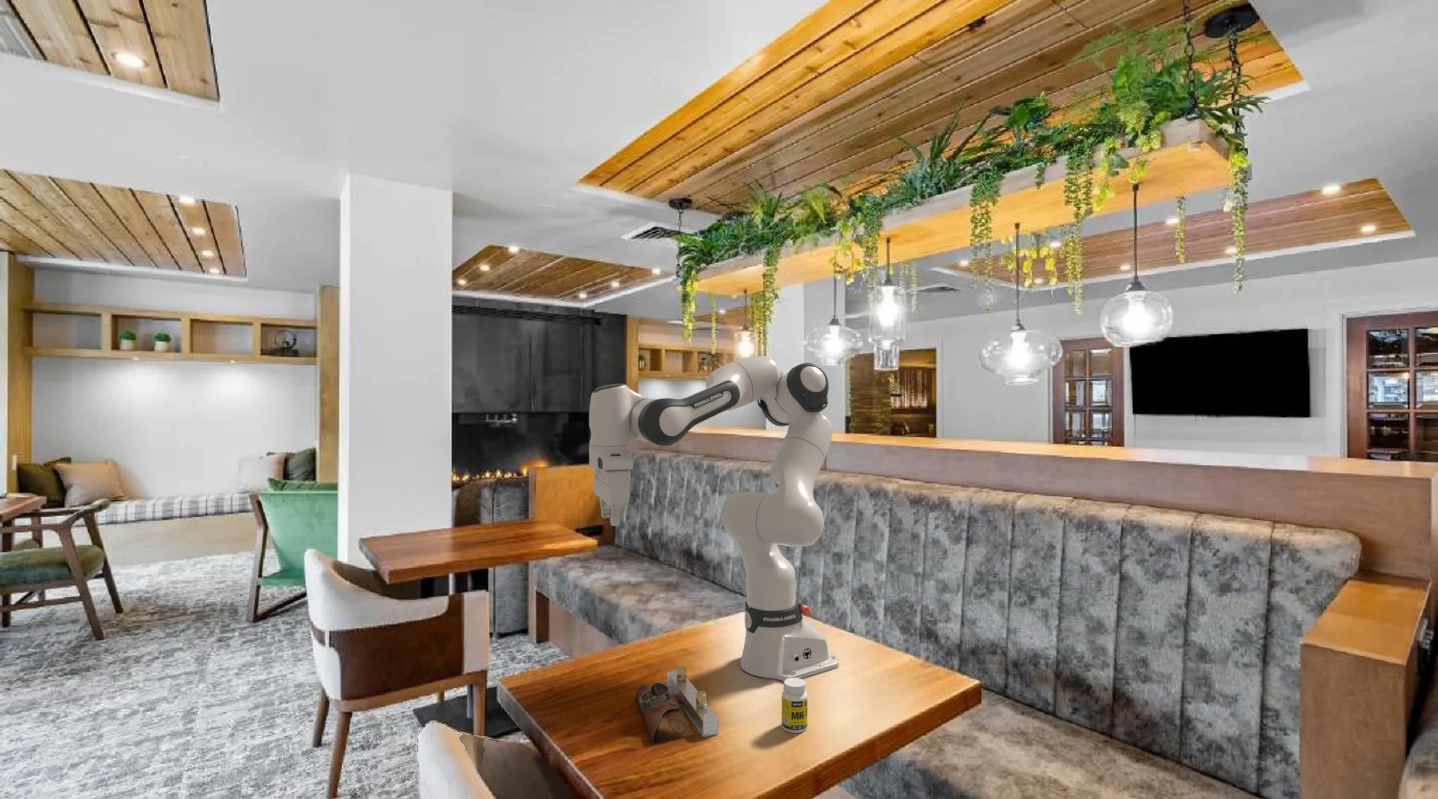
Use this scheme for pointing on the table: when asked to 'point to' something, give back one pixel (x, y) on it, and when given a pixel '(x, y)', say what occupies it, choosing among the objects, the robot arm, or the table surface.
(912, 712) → the table surface
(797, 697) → the supplement bottle
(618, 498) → the robot arm
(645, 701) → the wristwatch
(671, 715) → the sunglasses case
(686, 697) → the white board with knobs
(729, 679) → the table surface
